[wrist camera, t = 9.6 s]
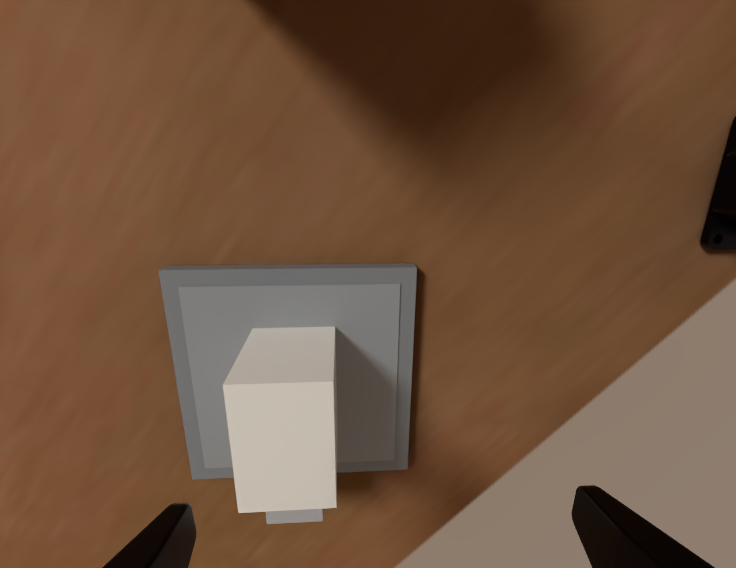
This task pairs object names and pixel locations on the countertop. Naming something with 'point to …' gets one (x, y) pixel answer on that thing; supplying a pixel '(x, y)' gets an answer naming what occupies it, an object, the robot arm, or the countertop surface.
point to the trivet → (286, 310)
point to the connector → (284, 423)
